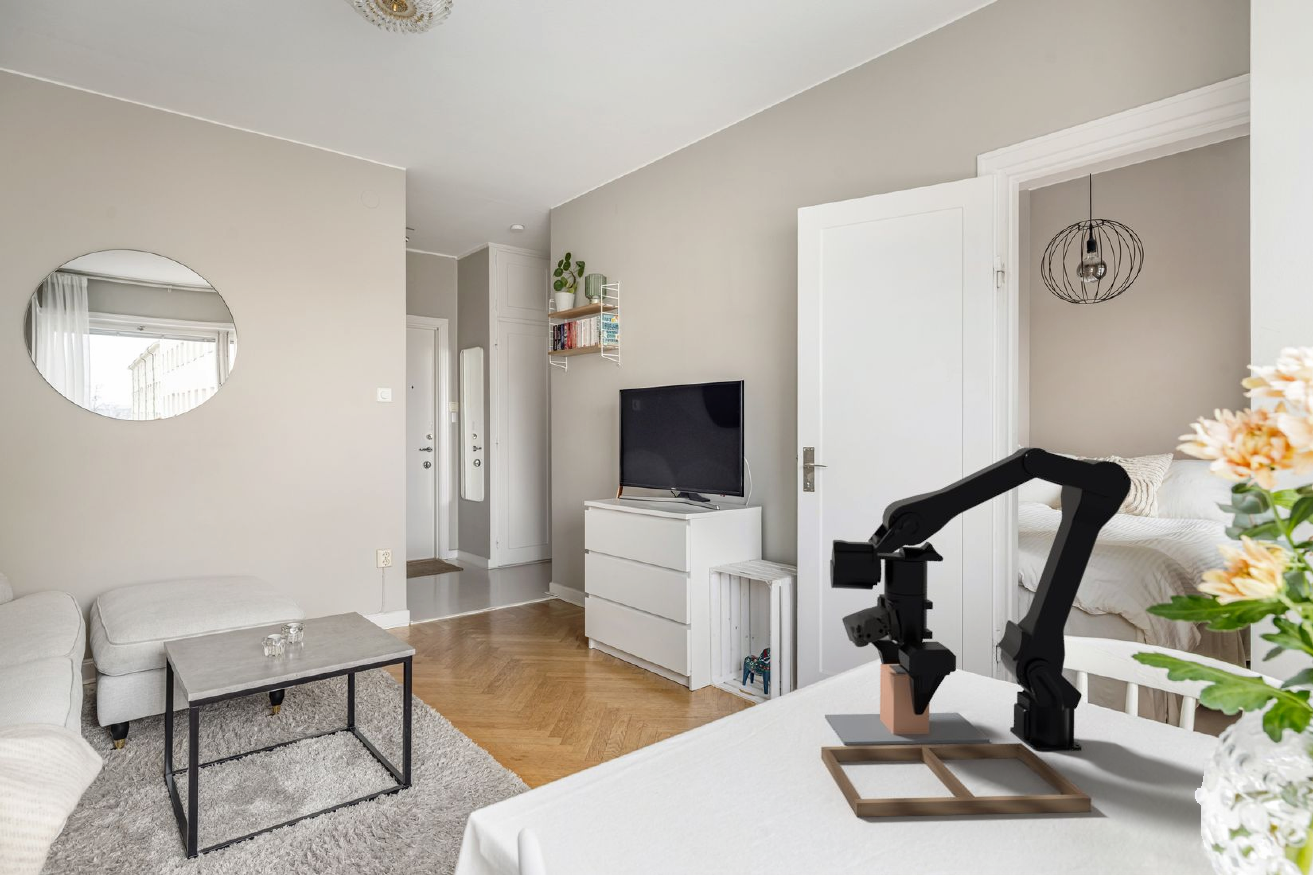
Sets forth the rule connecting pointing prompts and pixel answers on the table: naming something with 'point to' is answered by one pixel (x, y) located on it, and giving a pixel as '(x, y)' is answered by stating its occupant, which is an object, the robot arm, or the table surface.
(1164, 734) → the table surface
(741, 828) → the table surface
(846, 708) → the table surface
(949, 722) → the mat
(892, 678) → the peach block
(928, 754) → the organizer
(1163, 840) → the table surface
